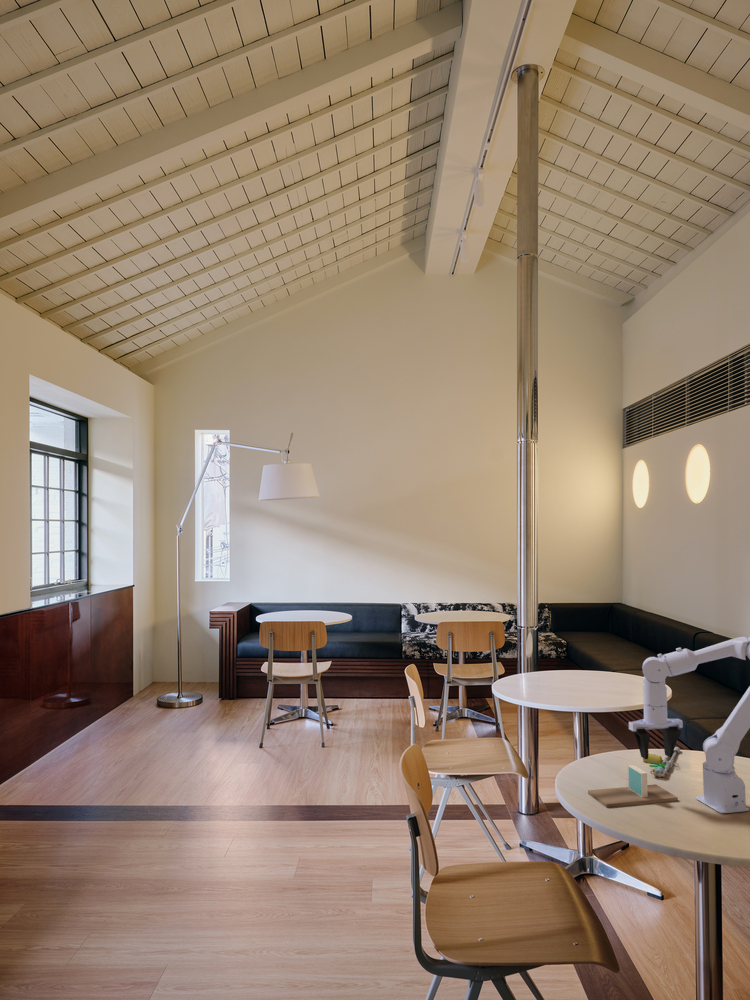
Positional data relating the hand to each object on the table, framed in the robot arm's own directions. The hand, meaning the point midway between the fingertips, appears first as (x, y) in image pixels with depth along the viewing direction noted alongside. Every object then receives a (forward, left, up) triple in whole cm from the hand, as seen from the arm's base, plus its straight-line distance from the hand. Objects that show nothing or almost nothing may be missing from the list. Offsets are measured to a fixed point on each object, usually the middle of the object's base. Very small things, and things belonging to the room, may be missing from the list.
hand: (656, 756), depth 172 cm
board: (+1, +7, -10) cm, 12 cm away
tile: (+1, +5, -9) cm, 10 cm away
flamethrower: (+22, -16, -11) cm, 29 cm away
